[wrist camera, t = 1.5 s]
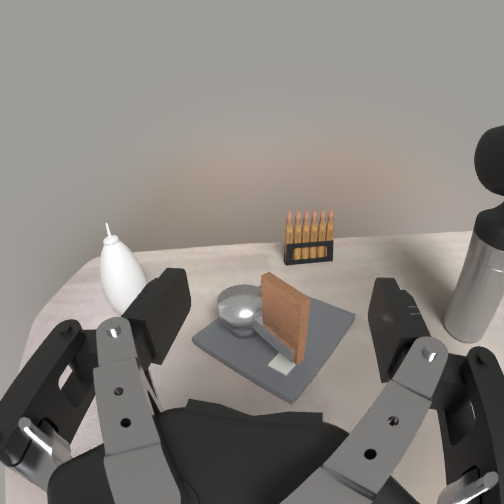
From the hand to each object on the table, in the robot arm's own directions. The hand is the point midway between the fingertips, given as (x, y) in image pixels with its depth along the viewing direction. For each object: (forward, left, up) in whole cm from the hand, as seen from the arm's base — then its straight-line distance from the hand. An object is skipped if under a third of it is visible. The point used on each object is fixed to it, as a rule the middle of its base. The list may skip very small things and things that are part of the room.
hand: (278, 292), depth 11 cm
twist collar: (-14, -12, -20) cm, 27 cm away
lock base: (-18, -12, -24) cm, 33 cm away
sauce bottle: (-6, -35, -25) cm, 43 cm away
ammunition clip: (-40, -19, -25) cm, 51 cm away
